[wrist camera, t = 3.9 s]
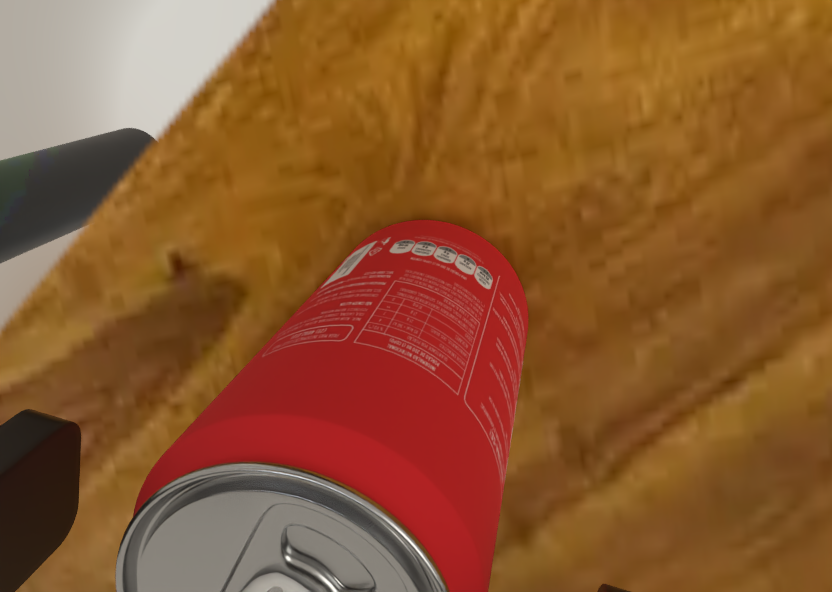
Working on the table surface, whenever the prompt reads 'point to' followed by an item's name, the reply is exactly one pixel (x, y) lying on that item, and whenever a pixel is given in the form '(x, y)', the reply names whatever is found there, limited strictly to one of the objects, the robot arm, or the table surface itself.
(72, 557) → the table surface
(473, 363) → the beverage can
